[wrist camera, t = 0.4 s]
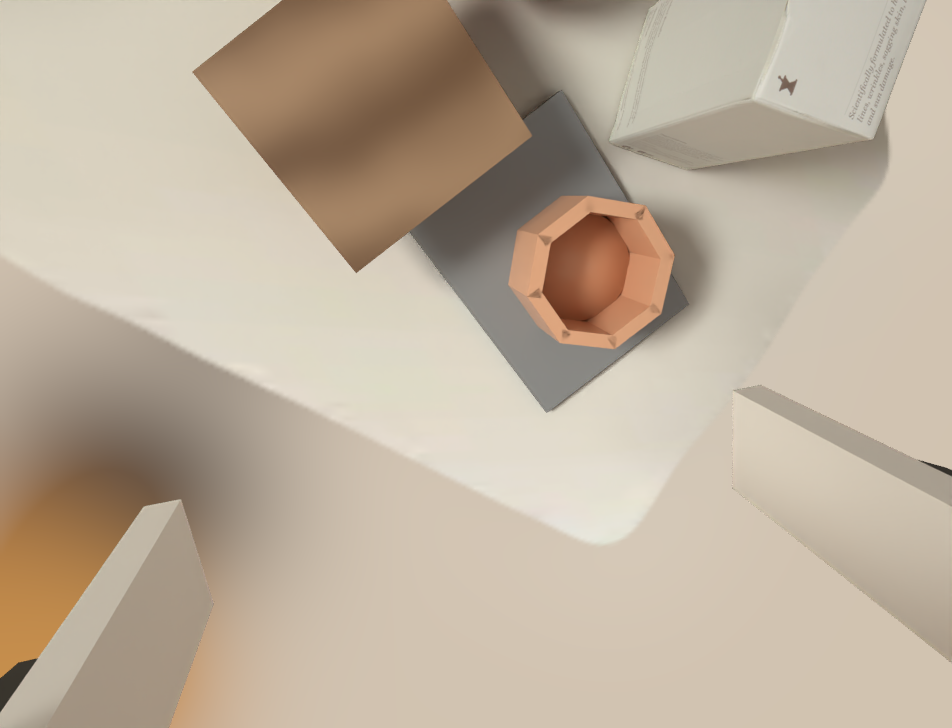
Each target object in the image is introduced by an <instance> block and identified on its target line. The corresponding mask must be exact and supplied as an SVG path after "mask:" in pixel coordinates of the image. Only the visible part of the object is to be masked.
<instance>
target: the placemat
mask: <svg viewBox="0 0 952 728" xmlns="http://www.w3.org/2000/svg"><path fill="white" fill-rule="evenodd" d="M523 122H524V123H525V125H526V126H527V128H528V130H529V131H530V133H531V134H532V137H530V138H529V139H528V140H527V141H525V142H524V143H523V144H521V145H520V146H519V147H518V148H516V149H515V150H514V151H512V152H511V153H510V154H509V155H507V156H506V157H505V158H503V159H502V160H501V161H500V162H498V163H497V164H496V165H494V166H493V167H492V168H491V169H489V170H488V171H487V172H485V173H484V174H483V175H482V176H480V177H479V178H478V179H476V180H475V181H474V182H473V183H471V184H470V185H469V186H467V187H466V188H465V189H464V190H462V191H461V192H460V193H458V194H457V195H456V196H455V197H453V198H452V199H451V200H449V201H448V202H447V203H446V204H444V205H443V206H442V207H440V208H439V209H438V210H437V211H435V212H434V213H433V214H431V215H430V216H429V217H428V218H426V219H425V220H424V221H422V222H421V223H420V224H419V225H417V226H416V227H415V228H413V229H412V230H411V231H410V233H411V234H412V236H413V237H414V238H415V240H416V241H417V242H418V244H419V245H420V246H421V248H422V249H423V250H424V252H425V253H426V254H427V255H428V257H429V258H430V259H431V261H432V262H433V263H434V265H435V266H436V267H437V269H438V270H439V271H440V273H441V274H442V275H443V277H444V278H445V279H446V281H447V282H448V283H449V285H450V286H451V287H452V289H453V290H454V291H455V292H456V294H457V295H458V296H459V298H460V299H461V300H462V302H463V303H464V304H465V306H466V307H467V308H468V310H469V311H470V312H471V314H472V315H473V316H474V318H475V319H476V320H477V322H478V323H479V324H480V326H481V327H482V328H483V330H484V331H485V332H486V333H487V335H488V336H489V337H490V339H491V340H492V341H493V343H494V344H495V345H496V347H497V348H498V349H499V351H500V352H501V353H502V355H503V356H504V357H505V359H506V360H507V361H508V363H509V364H510V365H511V367H512V368H513V369H514V371H515V372H516V373H517V374H518V376H519V377H520V378H521V380H522V381H523V382H524V384H525V385H526V386H527V388H528V389H529V390H530V392H531V393H532V394H533V396H534V397H535V398H536V400H537V401H538V402H539V404H540V405H541V406H542V408H543V409H544V410H545V411H546V413H547V412H549V411H550V410H551V409H553V408H554V407H555V406H557V405H558V404H559V403H560V402H562V401H563V400H564V399H566V398H567V397H568V396H570V395H571V394H572V393H574V392H575V391H576V390H578V389H579V388H580V387H581V386H583V385H584V384H585V383H587V382H588V381H589V380H591V379H592V378H593V377H595V376H596V375H597V374H598V373H600V372H601V371H602V370H604V369H605V368H606V367H608V366H609V365H610V364H612V363H613V362H614V361H615V360H617V359H618V358H619V357H621V356H622V355H623V354H625V353H626V352H627V351H629V350H630V349H631V348H633V347H634V346H635V345H636V344H638V343H639V342H640V341H642V340H643V339H644V338H646V337H647V336H648V335H650V334H651V333H652V332H653V331H655V330H656V329H657V328H659V327H660V326H661V325H663V324H664V323H665V322H667V321H668V320H669V319H670V318H672V317H673V316H674V315H676V314H677V313H678V312H680V311H681V310H682V309H684V308H685V307H686V306H688V305H689V303H688V301H687V300H686V298H685V296H684V295H683V293H682V291H681V289H680V288H679V286H678V284H677V283H676V281H675V279H674V278H673V276H672V274H670V278H669V282H668V287H667V291H666V295H665V300H664V304H663V308H662V313H661V314H660V315H659V316H658V317H656V318H655V319H654V320H652V321H651V322H650V323H648V324H647V325H646V326H644V327H643V328H642V329H641V330H639V331H638V332H637V333H635V334H634V335H633V336H631V337H630V338H629V339H627V340H626V341H625V342H623V343H622V344H621V345H620V346H618V347H617V348H616V349H609V348H600V347H591V346H582V345H572V344H563V343H559V342H558V341H557V340H555V339H554V338H553V337H551V336H550V335H549V334H547V333H546V332H545V331H543V330H542V329H541V328H539V327H538V326H537V324H536V323H535V322H534V320H533V319H532V317H531V316H530V315H529V313H528V312H527V310H526V309H525V308H524V306H523V305H522V303H521V302H520V301H519V299H518V298H517V296H516V295H515V294H514V292H513V291H512V290H511V288H510V287H509V285H508V283H509V277H510V271H511V265H512V259H513V253H514V247H515V241H516V235H517V230H518V229H519V228H520V227H522V226H523V225H524V224H526V223H527V222H528V221H529V220H531V219H532V218H533V217H535V216H536V215H537V214H538V213H540V212H541V211H542V210H544V209H545V208H546V207H547V206H549V205H550V204H551V203H553V202H554V201H555V200H557V199H558V198H559V197H560V196H592V197H598V198H604V199H610V200H616V201H622V202H628V201H627V199H626V197H625V196H624V194H623V192H622V191H621V189H620V187H619V186H618V184H617V182H616V180H615V179H614V177H613V175H612V174H611V172H610V170H609V169H608V167H607V165H606V164H605V162H604V160H603V159H602V157H601V155H600V154H599V152H598V150H597V149H596V147H595V145H594V144H593V142H592V140H591V139H590V137H589V135H588V134H587V132H586V130H585V128H584V127H583V125H582V123H581V122H580V120H579V118H578V117H577V115H576V113H575V112H574V110H573V108H572V107H571V105H570V103H569V102H568V100H567V98H566V97H565V95H564V93H563V92H562V90H561V91H559V92H558V93H556V94H555V95H554V96H552V97H551V98H550V99H549V100H547V101H546V102H545V103H543V104H542V105H541V106H540V107H538V108H537V109H536V110H534V111H533V112H532V113H531V114H529V115H528V116H527V117H525V118H524V119H523ZM628 203H629V202H628ZM603 217H604V218H606V217H605V216H603Z"/></svg>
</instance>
